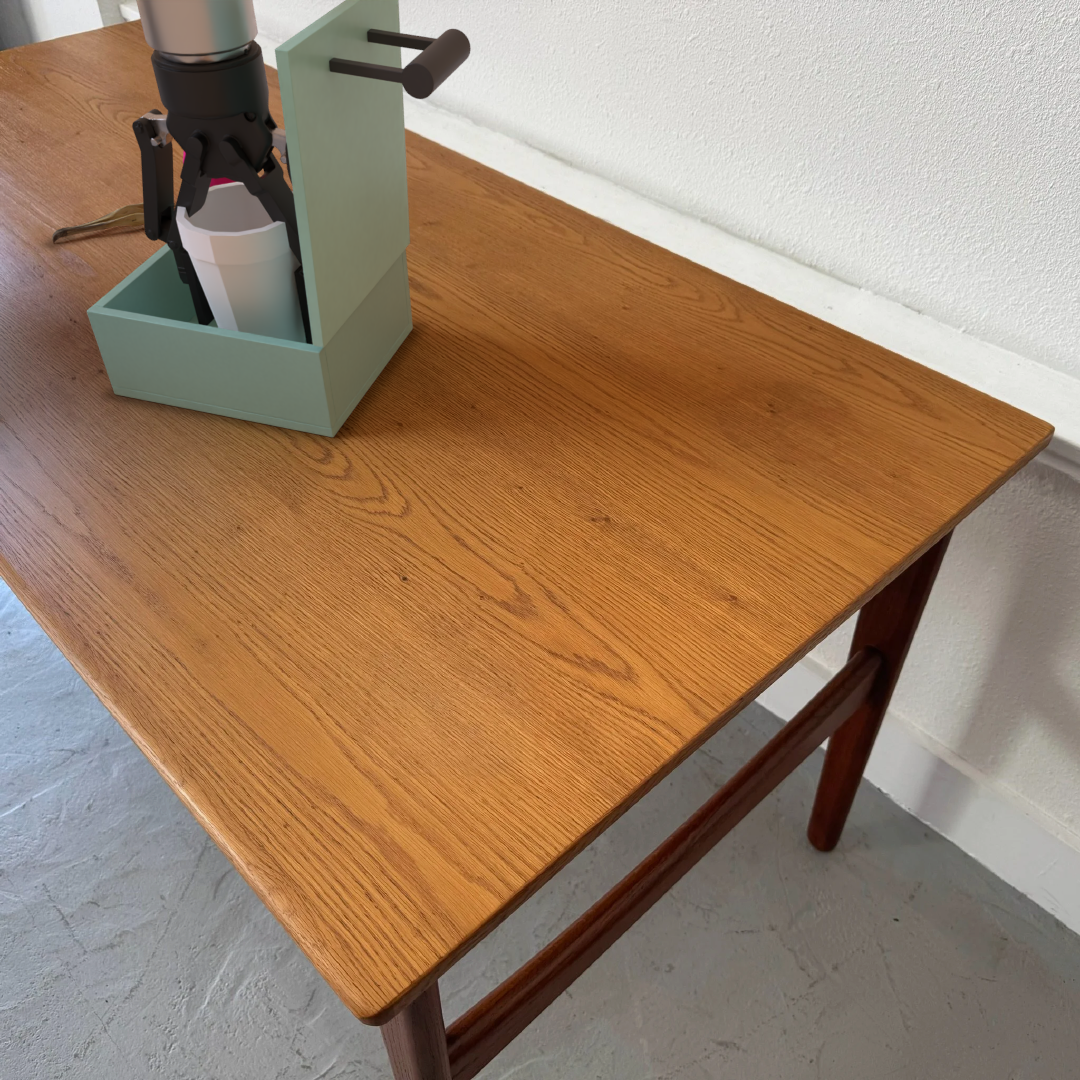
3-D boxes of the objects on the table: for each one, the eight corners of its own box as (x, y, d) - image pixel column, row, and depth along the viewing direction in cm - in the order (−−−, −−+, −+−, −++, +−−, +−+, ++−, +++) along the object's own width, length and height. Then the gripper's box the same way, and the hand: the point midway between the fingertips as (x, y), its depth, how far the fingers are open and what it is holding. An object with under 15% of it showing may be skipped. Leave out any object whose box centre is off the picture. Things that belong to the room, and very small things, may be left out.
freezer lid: (274, 48, 61) (401, 69, 60) (385, -29, 73) (494, -13, 71) (312, 345, 75) (416, 367, 74) (400, 241, 87) (491, 258, 86)
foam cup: (333, 323, 92) (311, 182, 83) (312, 383, 85) (286, 237, 76) (227, 321, 92) (194, 180, 83) (198, 380, 85) (159, 234, 76)
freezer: (114, 394, 85) (85, 310, 80) (217, 295, 97) (198, 215, 91) (333, 438, 81) (319, 352, 76) (413, 328, 93) (405, 247, 87)
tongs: (49, 238, 105) (44, 220, 103) (174, 211, 111) (170, 193, 109) (61, 255, 102) (56, 236, 101) (188, 226, 108) (184, 207, 107)
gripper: (373, 42, 72) (402, 324, 87) (98, 13, 76) (172, 285, 92) (326, 80, 66) (366, 372, 82) (34, 46, 71) (124, 329, 86)
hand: (263, 326), depth 87 cm, fingers closed on foam cup, 9 cm apart
